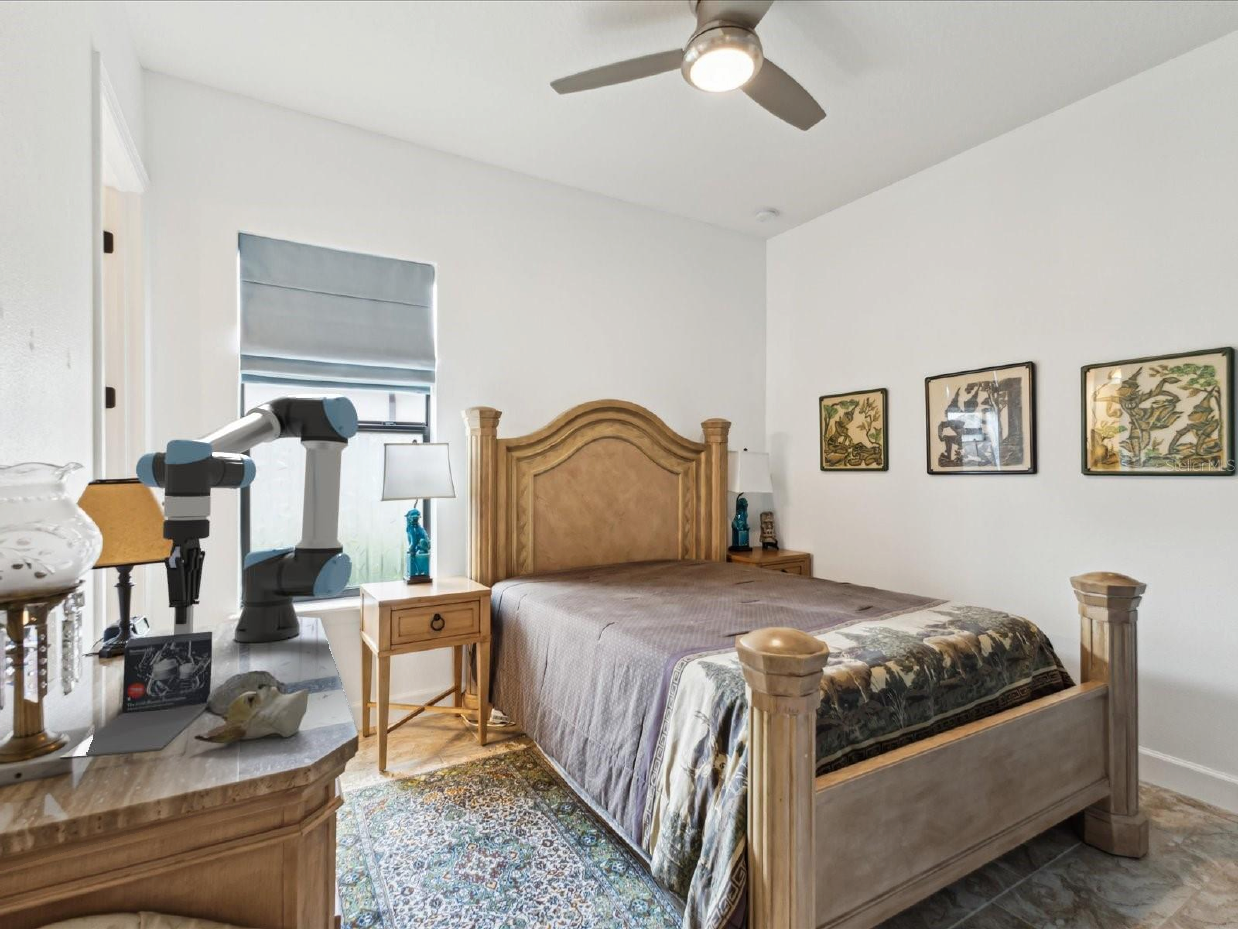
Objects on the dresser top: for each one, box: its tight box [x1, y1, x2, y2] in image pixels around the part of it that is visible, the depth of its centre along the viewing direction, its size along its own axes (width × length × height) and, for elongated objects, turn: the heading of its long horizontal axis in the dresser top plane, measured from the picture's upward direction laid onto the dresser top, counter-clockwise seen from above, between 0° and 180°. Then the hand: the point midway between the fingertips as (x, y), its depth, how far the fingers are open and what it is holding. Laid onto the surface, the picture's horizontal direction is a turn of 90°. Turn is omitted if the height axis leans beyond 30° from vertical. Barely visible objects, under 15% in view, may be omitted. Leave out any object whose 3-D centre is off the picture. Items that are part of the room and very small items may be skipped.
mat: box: [86, 706, 208, 757], centre depth 103 cm, size 18×13×1 cm
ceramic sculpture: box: [193, 684, 309, 744], centre depth 101 cm, size 11×9×15 cm
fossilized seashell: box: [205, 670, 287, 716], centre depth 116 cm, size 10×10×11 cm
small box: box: [121, 631, 213, 714], centre depth 116 cm, size 13×7×12 cm, turn 123°
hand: (183, 639), depth 122 cm, fingers closed
